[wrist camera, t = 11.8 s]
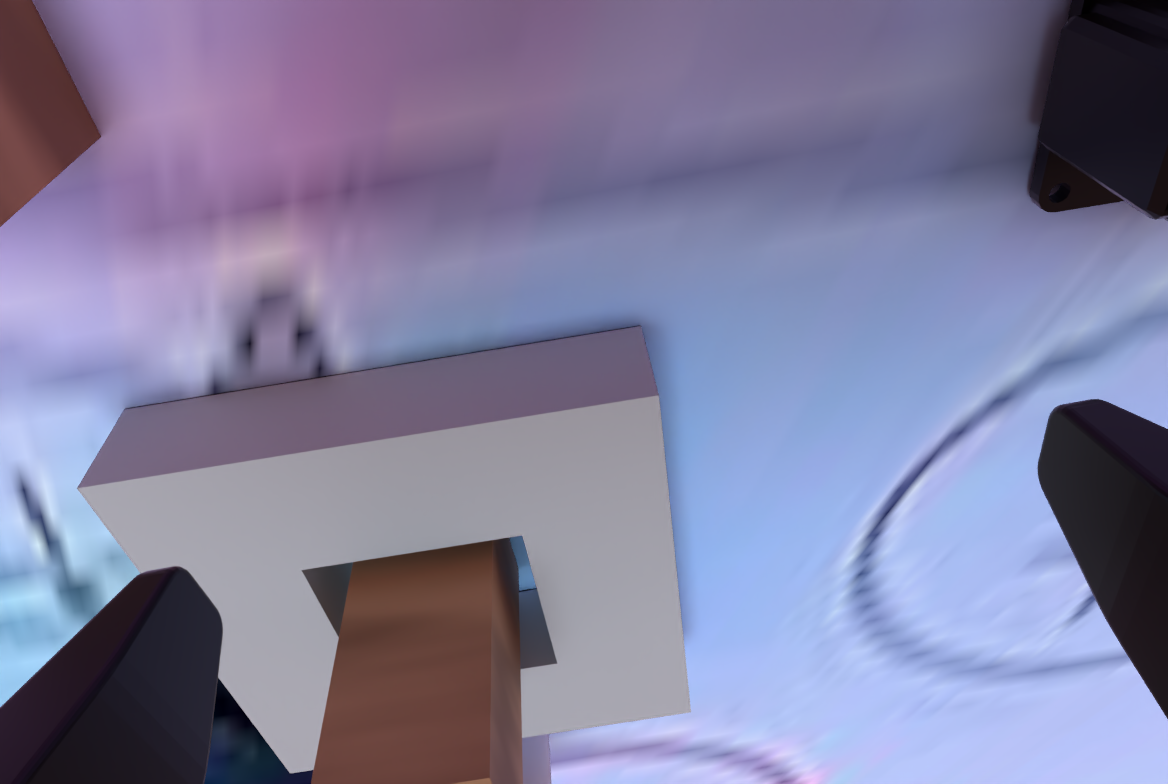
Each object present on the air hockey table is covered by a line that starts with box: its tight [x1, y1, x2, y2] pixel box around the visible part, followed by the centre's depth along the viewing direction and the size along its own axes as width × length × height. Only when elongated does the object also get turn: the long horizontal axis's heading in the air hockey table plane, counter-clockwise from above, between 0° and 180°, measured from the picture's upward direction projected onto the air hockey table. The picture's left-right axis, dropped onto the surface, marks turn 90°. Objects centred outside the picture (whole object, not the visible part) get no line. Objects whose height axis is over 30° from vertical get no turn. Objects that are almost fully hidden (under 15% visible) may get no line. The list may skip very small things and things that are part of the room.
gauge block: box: [77, 326, 691, 784], centre depth 24 cm, size 14×20×9 cm
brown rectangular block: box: [311, 538, 523, 784], centre depth 22 cm, size 4×4×9 cm
